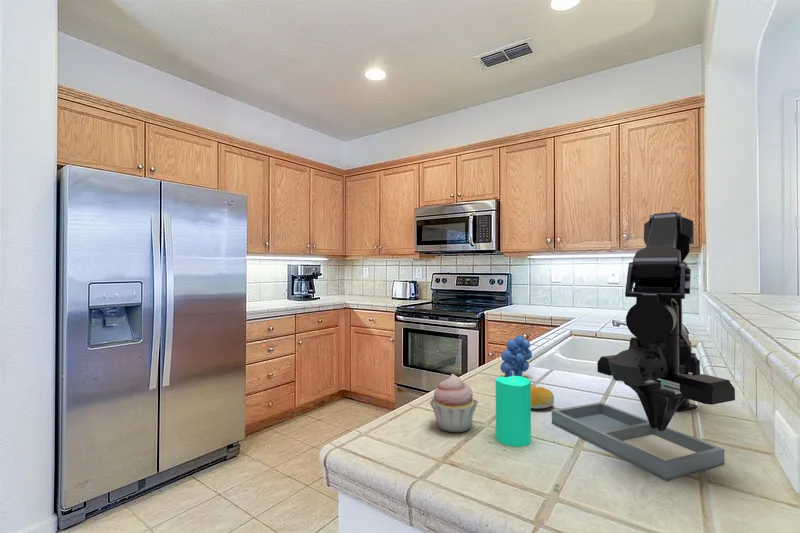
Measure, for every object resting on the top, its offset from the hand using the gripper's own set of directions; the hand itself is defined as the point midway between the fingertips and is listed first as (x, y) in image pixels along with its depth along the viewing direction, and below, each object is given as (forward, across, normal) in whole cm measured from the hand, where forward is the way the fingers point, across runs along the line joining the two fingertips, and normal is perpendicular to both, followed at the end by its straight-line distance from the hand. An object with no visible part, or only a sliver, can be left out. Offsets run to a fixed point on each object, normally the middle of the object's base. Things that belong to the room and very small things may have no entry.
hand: (657, 429), depth 62 cm
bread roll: (+5, -24, 0) cm, 25 cm away
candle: (+4, -14, -18) cm, 23 cm away
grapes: (+4, -44, +6) cm, 45 cm away
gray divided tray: (+4, -5, 0) cm, 7 cm away
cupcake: (+4, -22, -25) cm, 34 cm away
